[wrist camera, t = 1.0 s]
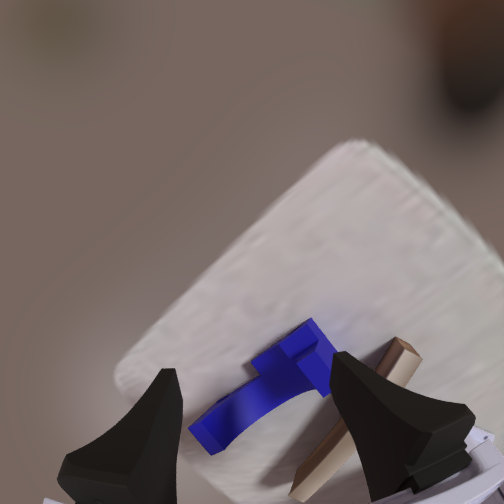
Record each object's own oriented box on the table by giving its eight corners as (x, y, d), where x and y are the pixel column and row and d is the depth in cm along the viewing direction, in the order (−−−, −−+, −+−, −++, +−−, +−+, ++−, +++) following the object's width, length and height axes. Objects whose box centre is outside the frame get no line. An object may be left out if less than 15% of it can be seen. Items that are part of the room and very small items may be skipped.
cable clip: (311, 317, 24) (300, 332, 18) (343, 358, 23) (342, 385, 17) (208, 388, 26) (176, 413, 20) (236, 424, 25) (210, 455, 19)
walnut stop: (410, 344, 21) (422, 359, 17) (310, 475, 22) (303, 502, 18) (395, 336, 21) (405, 349, 17) (296, 469, 23) (288, 496, 19)
